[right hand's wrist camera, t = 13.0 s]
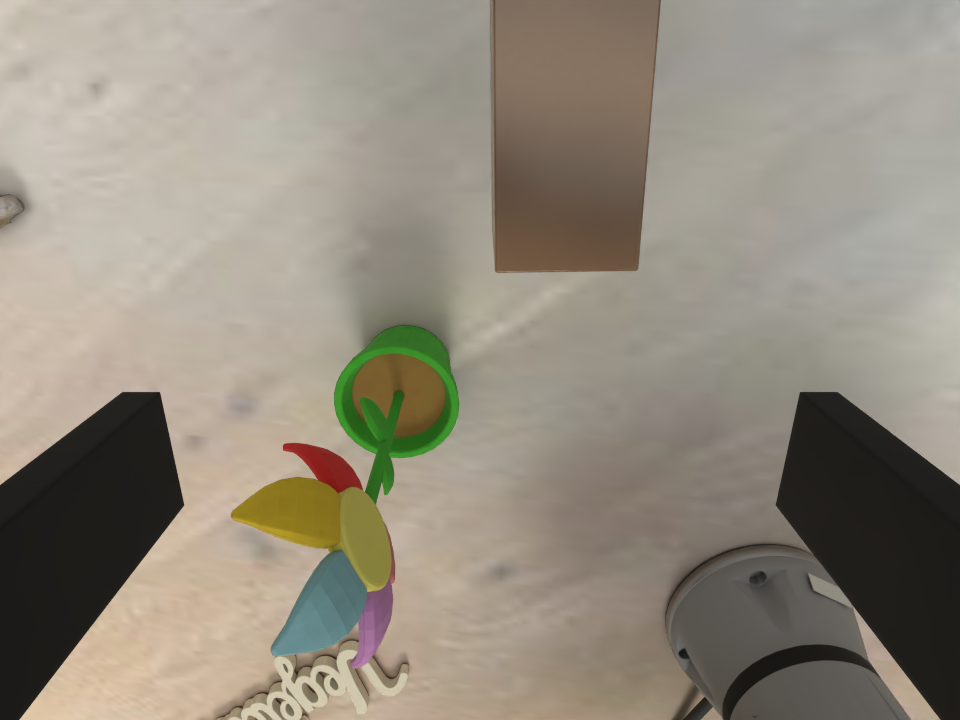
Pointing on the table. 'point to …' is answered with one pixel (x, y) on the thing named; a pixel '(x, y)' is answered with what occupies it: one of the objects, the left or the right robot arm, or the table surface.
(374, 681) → the decorative sign
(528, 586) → the table surface
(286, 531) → the potted flower
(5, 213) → the syringe
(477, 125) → the table surface
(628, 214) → the bar
